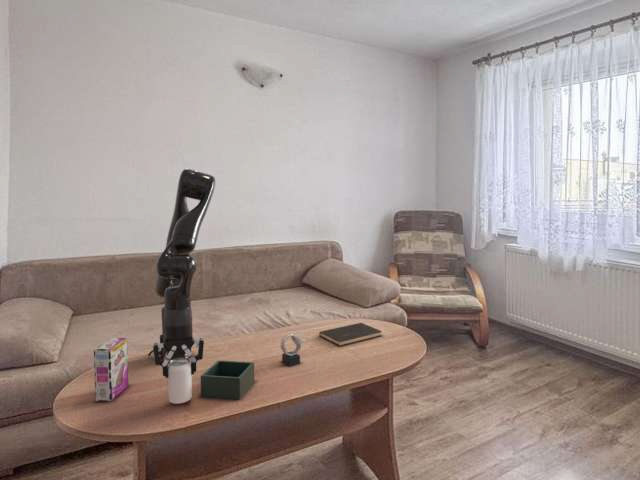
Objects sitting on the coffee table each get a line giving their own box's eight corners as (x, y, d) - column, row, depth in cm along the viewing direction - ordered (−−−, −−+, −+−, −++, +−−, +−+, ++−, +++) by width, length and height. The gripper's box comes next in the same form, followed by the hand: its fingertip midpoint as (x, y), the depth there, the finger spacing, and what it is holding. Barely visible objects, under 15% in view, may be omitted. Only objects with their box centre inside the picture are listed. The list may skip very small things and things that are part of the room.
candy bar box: (112, 401, 132) (109, 349, 130) (95, 402, 132) (92, 349, 130) (129, 385, 143) (127, 337, 141) (113, 385, 143) (111, 337, 141)
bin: (200, 396, 137) (200, 375, 136) (218, 379, 149) (218, 360, 148) (240, 399, 136) (239, 378, 135) (254, 381, 148) (254, 362, 147)
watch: (304, 362, 166) (304, 334, 164) (285, 367, 160) (285, 338, 159) (296, 357, 170) (296, 330, 168) (277, 362, 164) (277, 334, 163)
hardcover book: (381, 336, 197) (381, 331, 197) (339, 346, 183) (339, 341, 183) (360, 326, 210) (360, 322, 209) (319, 336, 195) (319, 331, 195)
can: (183, 405, 129) (182, 366, 127) (163, 402, 130) (162, 364, 128) (196, 395, 135) (195, 358, 133) (177, 392, 136) (177, 356, 135)
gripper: (203, 315, 136) (204, 366, 138) (151, 320, 130) (153, 373, 132) (205, 322, 129) (206, 376, 131) (150, 327, 123) (152, 384, 125)
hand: (179, 374), depth 131 cm, fingers closed on can, 6 cm apart
